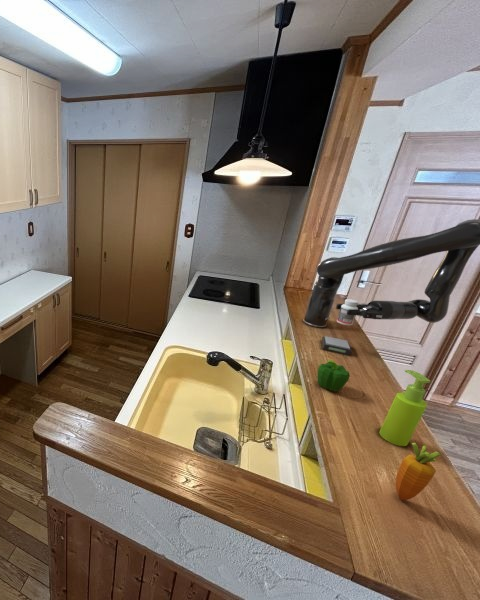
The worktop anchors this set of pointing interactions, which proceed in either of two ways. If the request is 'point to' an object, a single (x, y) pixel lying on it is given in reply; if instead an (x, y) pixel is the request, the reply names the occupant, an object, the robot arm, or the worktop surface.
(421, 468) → the carrot
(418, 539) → the worktop surface
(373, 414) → the worktop surface
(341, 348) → the scale
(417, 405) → the soap dispenser
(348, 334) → the worktop surface
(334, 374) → the bell pepper
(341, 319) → the pill bottle
